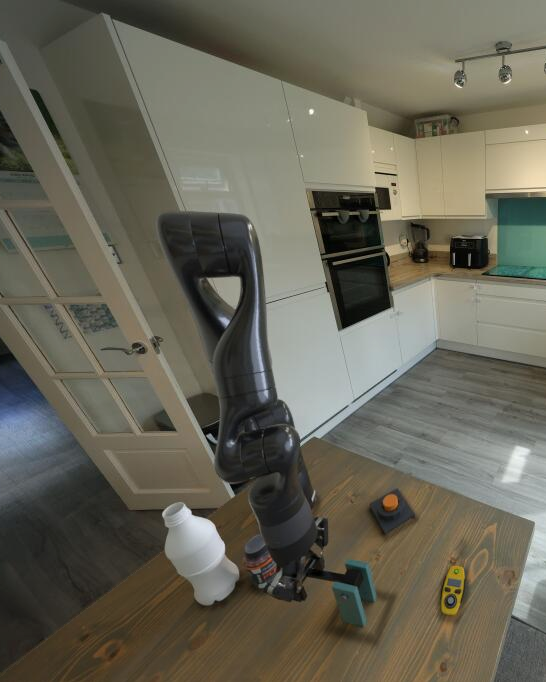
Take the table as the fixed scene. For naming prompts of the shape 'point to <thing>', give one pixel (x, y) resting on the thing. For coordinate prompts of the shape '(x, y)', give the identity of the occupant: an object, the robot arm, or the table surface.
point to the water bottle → (199, 554)
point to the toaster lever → (333, 575)
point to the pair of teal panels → (354, 594)
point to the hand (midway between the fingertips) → (310, 582)
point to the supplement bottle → (259, 562)
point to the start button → (390, 502)
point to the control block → (392, 512)
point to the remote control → (452, 590)
